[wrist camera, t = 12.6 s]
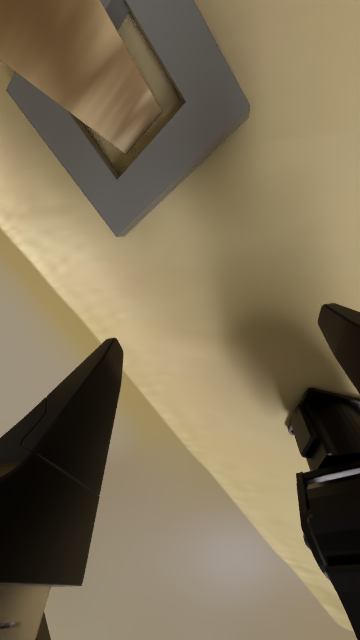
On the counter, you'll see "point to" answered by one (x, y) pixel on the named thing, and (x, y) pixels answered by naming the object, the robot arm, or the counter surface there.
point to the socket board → (176, 136)
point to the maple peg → (78, 64)
